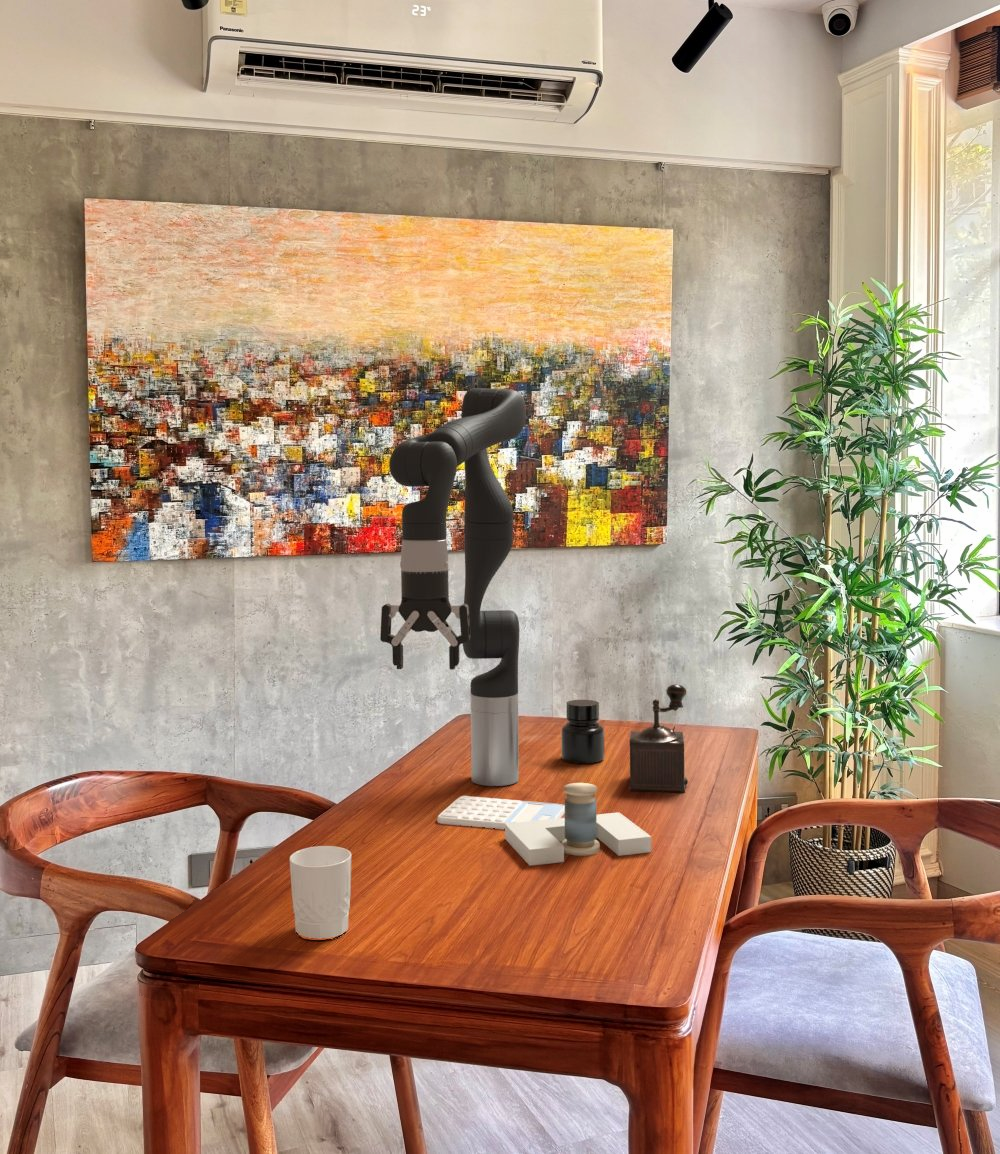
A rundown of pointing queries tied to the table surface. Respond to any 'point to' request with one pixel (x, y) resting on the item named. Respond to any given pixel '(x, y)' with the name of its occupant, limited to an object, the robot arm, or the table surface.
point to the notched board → (544, 837)
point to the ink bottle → (582, 733)
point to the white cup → (321, 890)
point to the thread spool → (580, 820)
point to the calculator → (497, 812)
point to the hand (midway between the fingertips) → (426, 668)
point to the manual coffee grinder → (659, 752)
